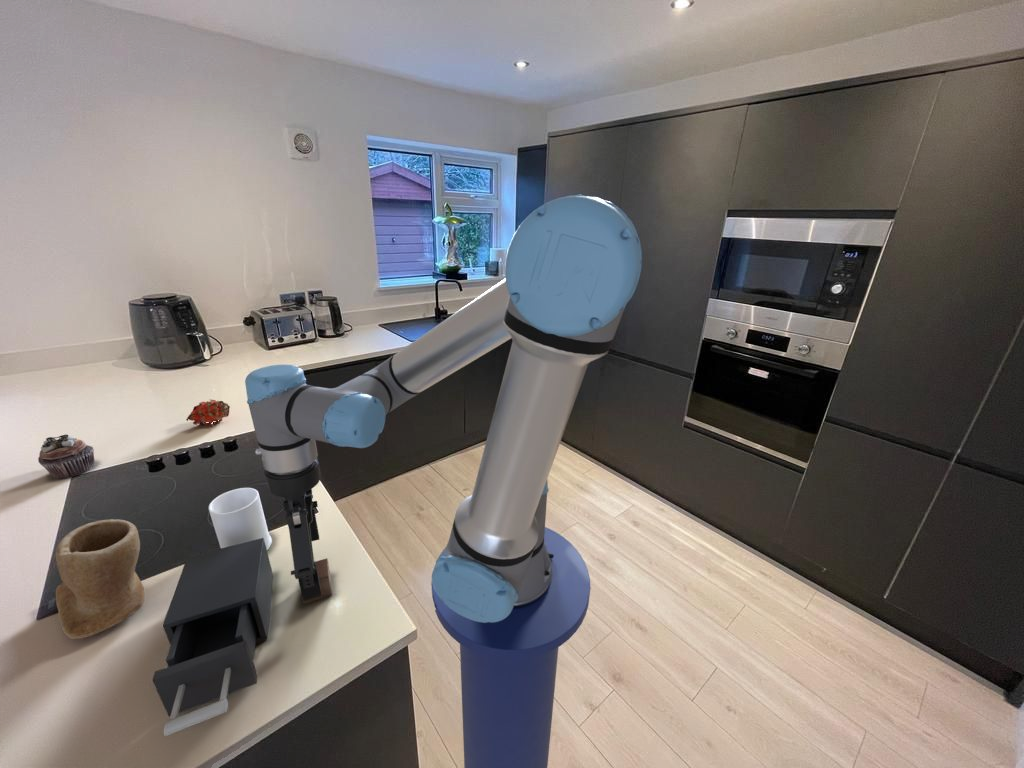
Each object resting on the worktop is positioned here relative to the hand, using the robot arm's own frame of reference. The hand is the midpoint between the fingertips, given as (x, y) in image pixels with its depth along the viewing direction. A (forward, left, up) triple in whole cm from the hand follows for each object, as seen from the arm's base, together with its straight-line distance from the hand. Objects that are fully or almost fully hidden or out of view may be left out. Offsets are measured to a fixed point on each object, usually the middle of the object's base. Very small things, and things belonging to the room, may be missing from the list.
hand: (311, 566), depth 70 cm
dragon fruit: (+30, -85, -6) cm, 90 cm away
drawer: (+13, +11, -5) cm, 18 cm away
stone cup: (+32, -12, -6) cm, 34 cm away
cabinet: (+13, 0, -6) cm, 14 cm away
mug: (+12, -18, -6) cm, 22 cm away
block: (0, 0, -6) cm, 6 cm away
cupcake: (+57, -67, -6) cm, 88 cm away
